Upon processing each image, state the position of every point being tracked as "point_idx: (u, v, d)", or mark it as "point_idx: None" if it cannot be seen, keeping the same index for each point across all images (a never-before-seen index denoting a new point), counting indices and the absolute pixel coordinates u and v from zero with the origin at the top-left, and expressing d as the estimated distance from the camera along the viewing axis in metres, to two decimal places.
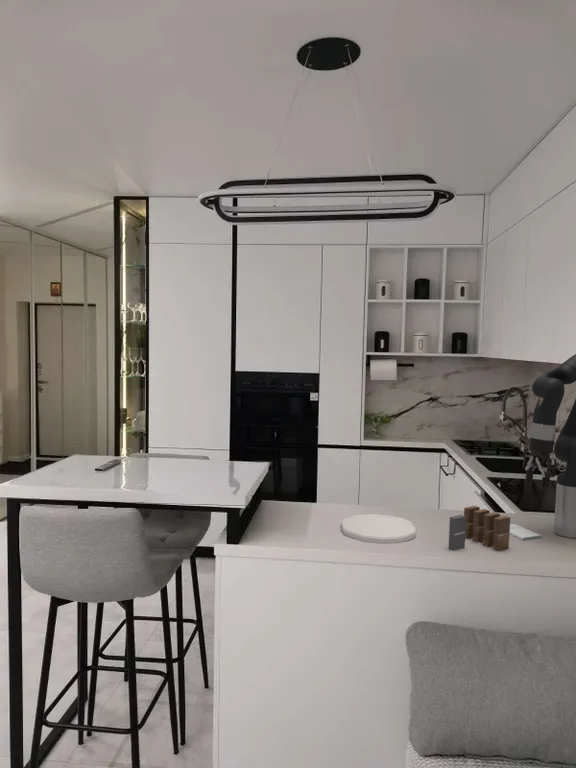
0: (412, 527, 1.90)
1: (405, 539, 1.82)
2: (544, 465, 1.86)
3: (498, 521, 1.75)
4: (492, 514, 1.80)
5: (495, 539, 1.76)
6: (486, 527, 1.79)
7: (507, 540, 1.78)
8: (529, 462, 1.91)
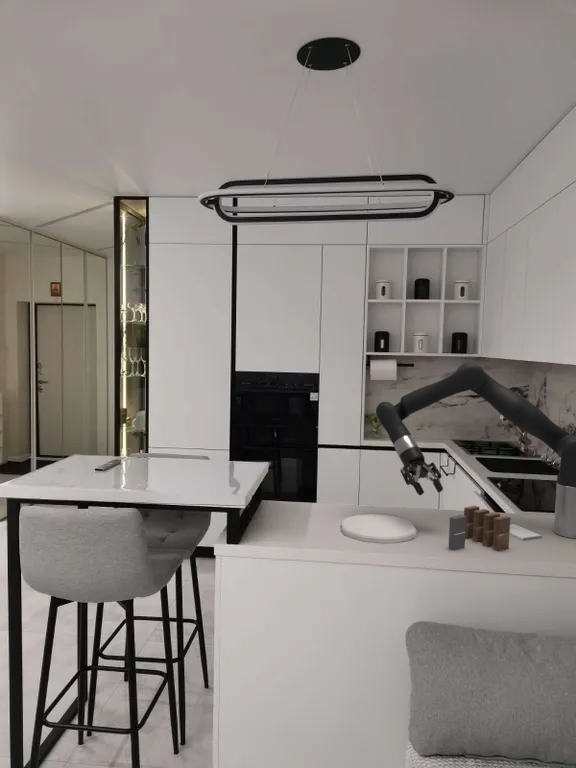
0: (412, 527, 1.90)
1: (405, 539, 1.82)
2: (414, 474, 1.89)
3: (498, 521, 1.75)
4: (492, 514, 1.80)
5: (495, 539, 1.76)
6: (486, 527, 1.79)
7: (507, 540, 1.78)
8: None
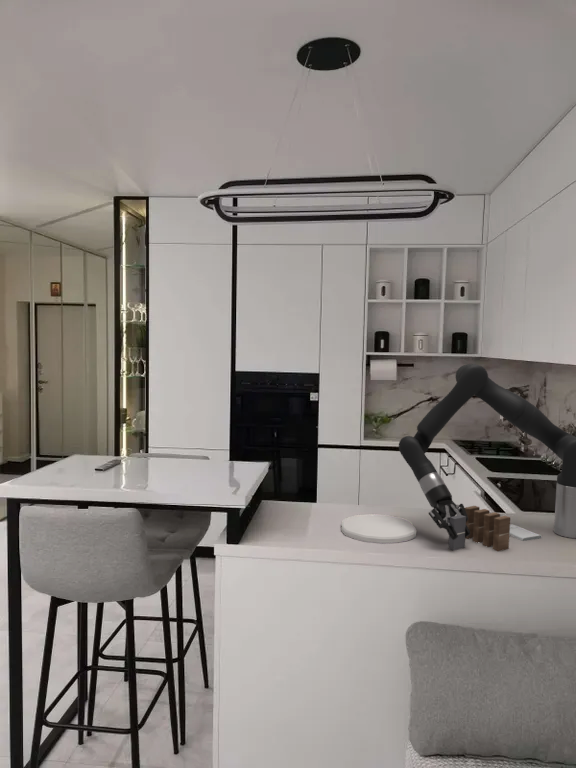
0: (412, 527, 1.90)
1: (405, 539, 1.82)
2: (444, 515, 1.79)
3: (498, 521, 1.75)
4: (492, 514, 1.80)
5: (495, 539, 1.76)
6: (486, 527, 1.79)
7: (507, 540, 1.78)
8: None
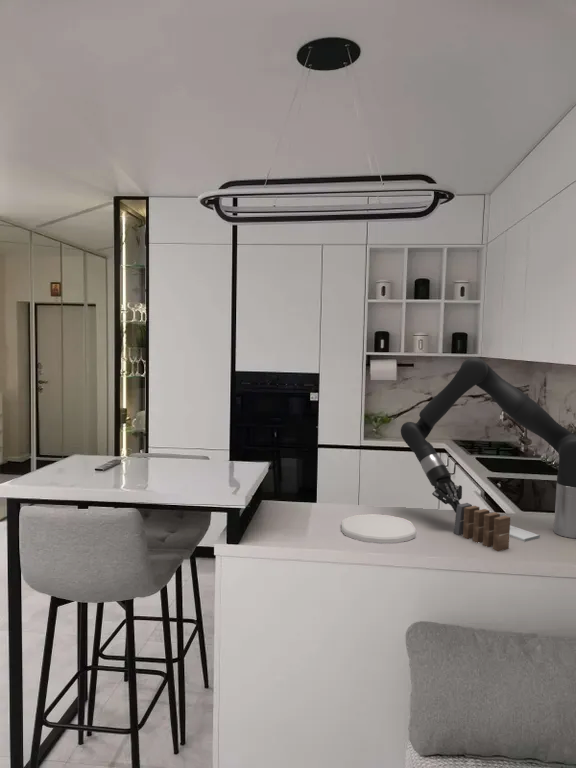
0: (412, 527, 1.90)
1: (405, 539, 1.82)
2: None
3: (498, 521, 1.75)
4: (492, 514, 1.80)
5: (495, 539, 1.76)
6: (486, 527, 1.79)
7: (507, 540, 1.78)
8: None
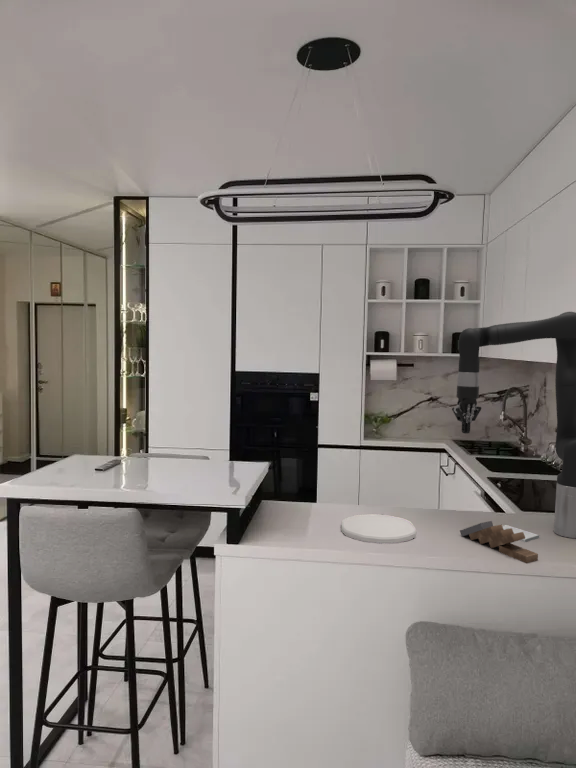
0: (412, 527, 1.90)
1: (405, 539, 1.82)
2: None
3: (524, 560, 1.67)
4: (518, 537, 1.71)
5: (507, 551, 1.72)
6: (503, 540, 1.73)
7: None
8: None
